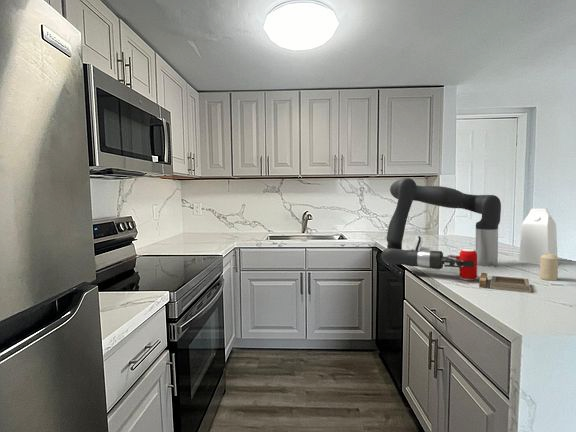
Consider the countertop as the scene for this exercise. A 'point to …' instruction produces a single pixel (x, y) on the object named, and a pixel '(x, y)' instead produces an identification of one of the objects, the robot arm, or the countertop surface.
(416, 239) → the hinge
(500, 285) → the tray
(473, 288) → the countertop surface
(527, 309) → the countertop surface
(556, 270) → the candle
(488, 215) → the robot arm
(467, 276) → the beverage can
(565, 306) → the countertop surface
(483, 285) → the sill
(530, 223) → the milk
